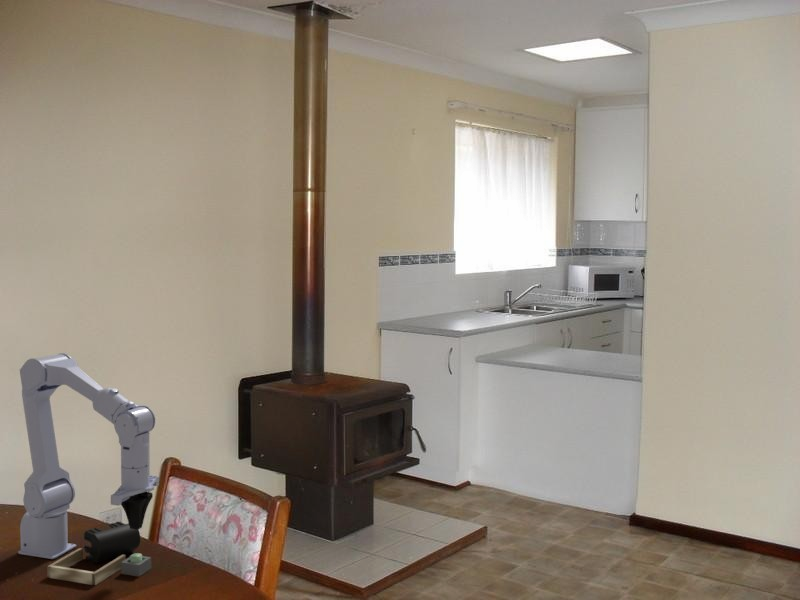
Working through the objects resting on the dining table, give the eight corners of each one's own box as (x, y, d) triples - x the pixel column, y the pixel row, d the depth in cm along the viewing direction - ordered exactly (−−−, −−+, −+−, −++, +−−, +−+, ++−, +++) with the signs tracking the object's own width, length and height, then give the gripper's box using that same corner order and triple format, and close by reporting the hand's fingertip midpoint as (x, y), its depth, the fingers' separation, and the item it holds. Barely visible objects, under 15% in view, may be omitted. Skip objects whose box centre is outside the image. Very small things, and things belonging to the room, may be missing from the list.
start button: (128, 571, 181) (127, 556, 181) (134, 567, 183) (134, 552, 183) (137, 572, 180) (137, 558, 180) (144, 568, 183) (144, 554, 182)
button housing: (121, 573, 180) (121, 562, 180) (133, 565, 184) (133, 554, 184) (139, 576, 179) (139, 565, 179) (151, 568, 183) (151, 557, 183)
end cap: (99, 568, 183) (99, 537, 182) (82, 559, 188) (82, 529, 187) (141, 554, 191) (140, 525, 190) (123, 546, 195) (123, 517, 195)
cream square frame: (47, 577, 178) (47, 566, 177) (79, 558, 188) (79, 548, 187) (95, 585, 174) (95, 574, 174) (125, 565, 184) (125, 555, 184)
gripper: (131, 476, 172) (132, 542, 173) (171, 457, 185) (171, 518, 187) (101, 473, 174) (102, 538, 175) (142, 454, 187) (143, 515, 189)
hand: (135, 527), depth 181 cm, fingers closed
